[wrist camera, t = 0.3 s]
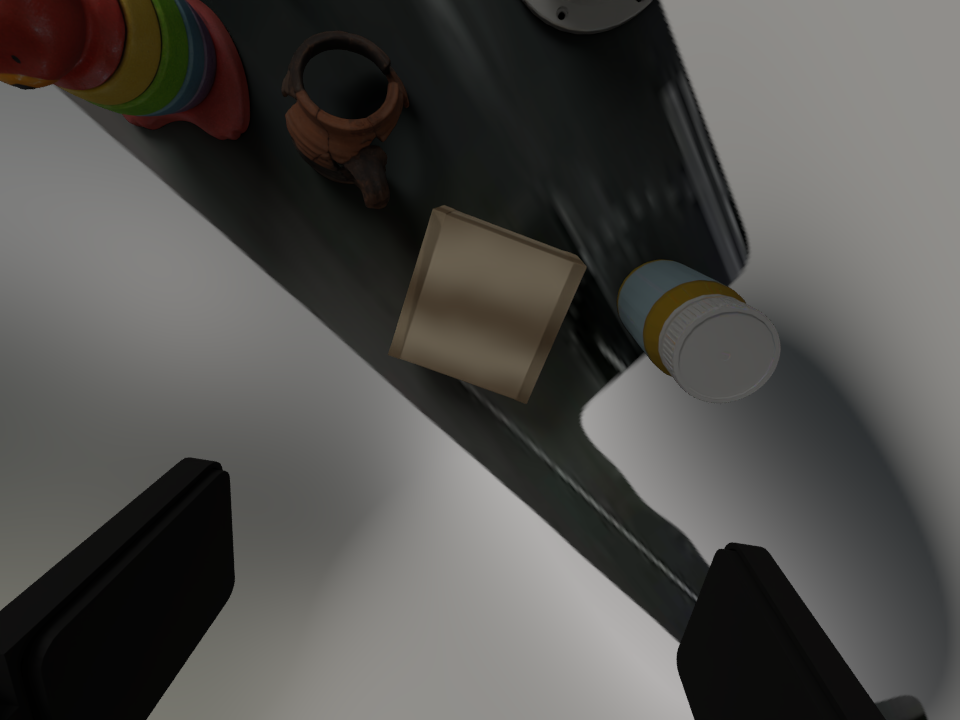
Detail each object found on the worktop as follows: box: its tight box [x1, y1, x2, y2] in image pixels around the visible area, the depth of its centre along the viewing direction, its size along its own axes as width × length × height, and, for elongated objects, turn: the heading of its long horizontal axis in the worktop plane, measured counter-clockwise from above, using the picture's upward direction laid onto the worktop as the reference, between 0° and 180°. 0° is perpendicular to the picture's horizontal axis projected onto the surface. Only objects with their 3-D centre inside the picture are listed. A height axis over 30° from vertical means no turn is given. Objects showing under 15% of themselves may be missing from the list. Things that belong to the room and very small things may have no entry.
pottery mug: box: [282, 31, 409, 209], centre depth 37 cm, size 12×10×8 cm
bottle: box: [617, 260, 781, 403], centre depth 35 cm, size 7×7×15 cm
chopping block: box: [388, 205, 586, 404], centre depth 40 cm, size 12×12×6 cm
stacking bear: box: [0, 0, 250, 140], centre depth 30 cm, size 11×10×18 cm
